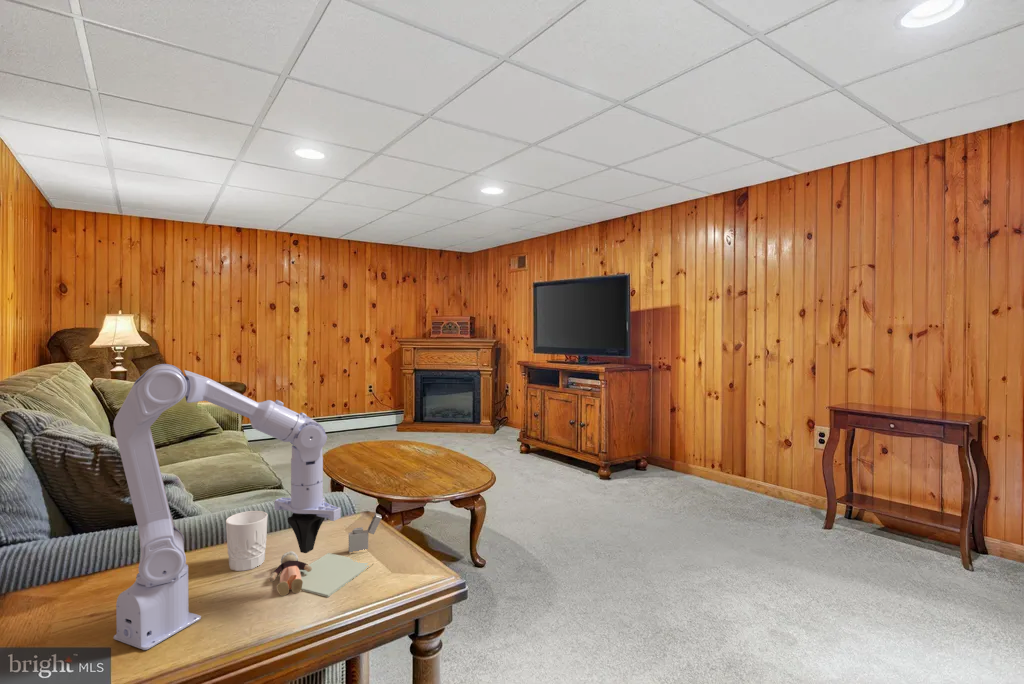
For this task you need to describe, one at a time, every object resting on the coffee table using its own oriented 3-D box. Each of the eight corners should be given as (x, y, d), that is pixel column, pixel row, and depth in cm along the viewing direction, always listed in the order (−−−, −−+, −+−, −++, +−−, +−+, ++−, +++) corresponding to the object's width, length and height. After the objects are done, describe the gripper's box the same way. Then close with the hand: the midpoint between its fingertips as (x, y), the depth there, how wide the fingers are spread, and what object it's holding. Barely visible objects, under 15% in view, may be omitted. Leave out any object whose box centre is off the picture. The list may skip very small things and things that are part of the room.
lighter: (349, 554, 113) (349, 519, 113) (348, 551, 115) (348, 516, 114) (381, 549, 116) (381, 514, 116) (380, 546, 117) (380, 512, 117)
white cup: (236, 576, 103) (236, 528, 102) (219, 565, 107) (219, 518, 107) (274, 562, 109) (274, 516, 108) (256, 552, 114) (256, 508, 113)
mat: (328, 597, 95) (328, 595, 95) (279, 584, 100) (279, 582, 100) (373, 564, 108) (373, 562, 108) (328, 554, 113) (328, 552, 113)
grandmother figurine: (272, 578, 94) (270, 547, 106) (269, 598, 94) (267, 565, 106) (316, 575, 98) (309, 546, 109) (312, 594, 98) (306, 563, 109)
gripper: (351, 480, 99) (351, 548, 99) (293, 471, 104) (293, 536, 105) (326, 491, 92) (325, 564, 93) (265, 481, 97) (265, 550, 98)
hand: (306, 550), depth 98 cm, fingers closed
